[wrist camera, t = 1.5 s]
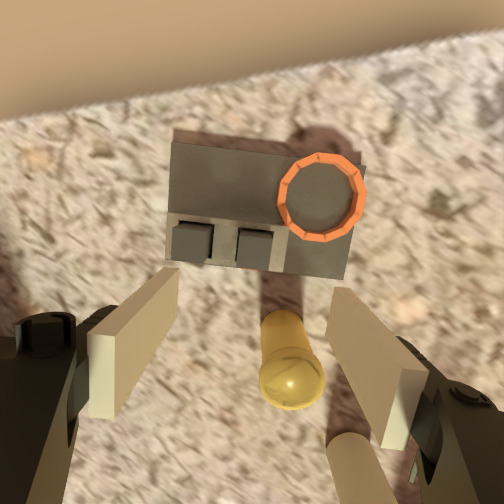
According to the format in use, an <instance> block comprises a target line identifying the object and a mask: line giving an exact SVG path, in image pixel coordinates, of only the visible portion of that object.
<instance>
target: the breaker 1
mask: <svg viewBox="0 0 504 504" xmlns="http://www.w3.org/2000/svg"><path fill="white" fill-rule="evenodd" d="M212 235H213V225H209V224H200V223H192V222H183V223H181V224H179V225H177V226H174V227H172V245H171V260H176V261H185V262H193V263H202V264H203V263H204V262H205V261H206V259H207V258H208V256H209V255H210V253H211V247H212Z"/></svg>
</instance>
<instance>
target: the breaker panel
mask: <svg viewBox="0 0 504 504" xmlns="http://www.w3.org/2000/svg"><path fill="white" fill-rule="evenodd" d="M301 159H303V158H298V157H290V156H282V155H274V154H266V153H258V152H250V151H242V150H234V149H225V148H217V147H209V146H201V145H193V144H185V143H177V142H171V159H170V179H169V199H168V212H167V228H166V249H165V259H166V260H171V245H172V227H174V226H177V225H179V224H181V223H183V222H192V223H200V224H209V225H213V235H212V247H211V253H210V255H209V256H208V258H207V259H206V261H205V262H204V263H203V264H209V265H217V266H226V267H235V268H237V267H236V262H237V253H238V244H239V235H240V232H241V229H242V228H243V229H251V230H259V231H268V232H270V233H271V236H272V239H273V241H272V248H271V255H270V263H269V270H268V271H269V272H278V273H286V274H295V275H304V276H312V277H321V278H330V279H338V280H343V278H344V273H345V268H346V263H347V258H348V253H349V248H350V243H351V238H352V233H353V228H354V226H353V227H352V228H351V229H350V230H349V232H348V233H347V234H345V235H342V236H340V237H338V238H335V239H333V240H330V241H328V242H318V241H309V240H303V239H302V238H300V237H299V236H298V235H296V234H295V233H294V232H292V231H291V230H290V229H289V228H290V227H289V226H288V225H287V224H284V223H283V220H282V218H281V215H280V213H279V211H278V208H277V206H276V202H277V195H278V187H279V182H280V180H281V179H282V178H283V176H284V175H285V174H286V172H287V171H288V170H289V168H290V167H291V166H292V164H293V163H295V162H296V161H299V160H301ZM353 165H354V166H355V167H356V168H358V169H359V170H360V173H361V176H362V179H364V174H365V169H366V166H363V165H355V164H353ZM353 194H354V193H353V190H352V187H351V184H350V181H349V178H348V176H347V175H346V174H345V173H344V172H342V171H341V170H340V169H339V168H338V167H336V166H335V165H334V164H327V163H319V162H314V163H312V164H310V165H307V166H305V167H303V168H300V169H299V171H298V172H297V173H296V175H295V176H294V177H293V179H292V180H291V181H290V183H289V184H288V187H287V194H286V201H285V206H286V208H287V211H288V213H289V216H290V218H291V221H292V222H293V223H294V224H296V225H297V226H298V227H300V228H301V229H302V230H304V231H310V232H318V233H322V232H325V231H327V230H330V229H332V228H335V227H337V226H339V224H340V223H341V222H342V221H343V220H344V218H345V217H346V216H347V215H348V214H349V212H350V210H351V205H352V199H353ZM174 261H176V260H174ZM183 262H185V261H183ZM191 263H193V262H191ZM200 264H202V263H200ZM242 269H245V268H242ZM251 270H254V269H251ZM259 271H263V270H259Z"/></svg>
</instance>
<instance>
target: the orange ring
mask: <svg viewBox="0 0 504 504" xmlns="http://www.w3.org/2000/svg"><path fill="white" fill-rule="evenodd" d="M314 162H319V163H327V164H334V165H335V166H336V167H338V168H339V169H340V170H341V171H342V172H344V173H345V174H346V175H347V176H348V178H349V181H350V184H351V187H352V190H353V193H354V194H353V199H352V205H351V210H350V212H349V214H348V215H347V216H346V217H345V218H344V220H343V221H342V222H341V223H340V224H339V226H337V227H335V228H332V229H330V230H327V231H325V232H322V233H318V232H310V231H304V230H302V229H301V228H300V227H298V226H297V225H296V224H294V223H293V222H292V221H291V218H290V216H289V213H288V211H287V208H286V206H285V201H286V194H287V187H288V184H289V183H290V181H291V180H292V179H293V177H294V176H295V175H296V173H297V172H298V171H299V169H300V168H303V167H305V166H307V165H310V164H312V163H314ZM366 193H367V192H366V189H365V186H364V182H363V179H362V176H361V173H360V170H359V169H358V168H356V167H355V166H354V165H353V164H352V163H350V162H349V161H348V160H347V159H345V158H344V157H343V156H342V155H337V154H329V153H321V152H317V153H314V154H312V155H310V156H308V157H305V158H303V159H301V160H299V161H296V162H295V163H293V164H292V166H291V167H290V168H289V170H288V171H287V172H286V174H285V175H284V176H283V178H282V179H281V180H280V182H279V187H278V195H277V202H276V206H277V208H278V211H279V213H280V215H281V218H282V220H283V223H284V224H287V225H288V226H289V227H290V228H289V229H290V230H291V231H292V232H294V233H295V234H296V235H298V236H299V237H300V238H302V239H303V240H309V241H318V242H328V241H330V240H333V239H335V238H338V237H340V236H342V235H345V234H347V233H348V232H349V230H350V229H351V228H352V227H353V226H354V224H355V223H356V222H357V221H358V220H359V218H360V217H361V216H362V213H363V208H364V203H365V198H366Z"/></svg>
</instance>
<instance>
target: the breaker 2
mask: <svg viewBox="0 0 504 504" xmlns="http://www.w3.org/2000/svg"><path fill="white" fill-rule="evenodd" d="M272 241H273V239H272V236H271V233H270V232H268V231H259V230H251V229H243V228H242V229H241V232H240V235H239V244H238V253H237V262H236V267H237V268H245V269H254V270H263V271H268V270H269V263H270V255H271V248H272Z"/></svg>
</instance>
